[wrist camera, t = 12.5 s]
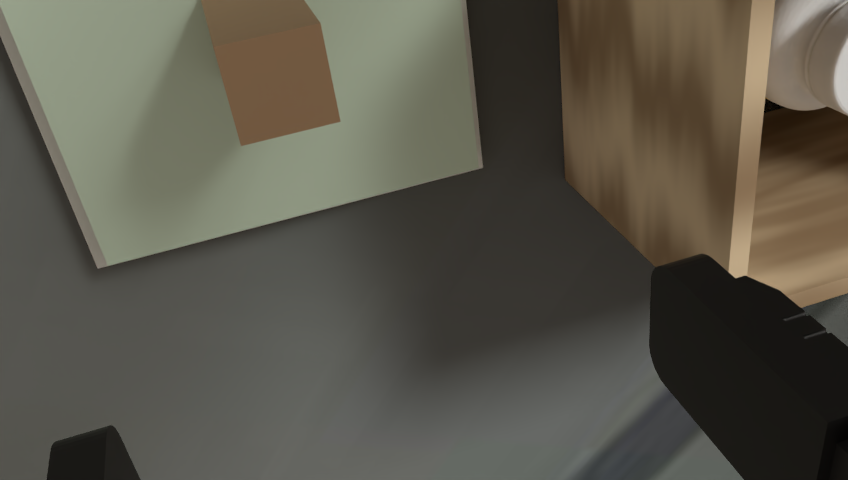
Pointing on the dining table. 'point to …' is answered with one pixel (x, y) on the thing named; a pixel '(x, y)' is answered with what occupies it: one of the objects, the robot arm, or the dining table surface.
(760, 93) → the oak box
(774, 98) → the supplement bottle
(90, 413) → the dining table surface
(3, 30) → the grey mat
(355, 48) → the lid
